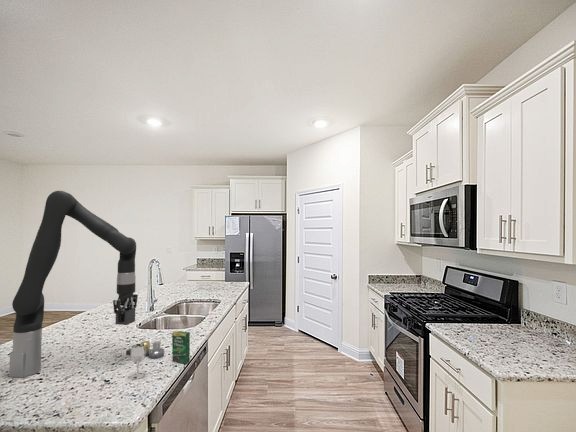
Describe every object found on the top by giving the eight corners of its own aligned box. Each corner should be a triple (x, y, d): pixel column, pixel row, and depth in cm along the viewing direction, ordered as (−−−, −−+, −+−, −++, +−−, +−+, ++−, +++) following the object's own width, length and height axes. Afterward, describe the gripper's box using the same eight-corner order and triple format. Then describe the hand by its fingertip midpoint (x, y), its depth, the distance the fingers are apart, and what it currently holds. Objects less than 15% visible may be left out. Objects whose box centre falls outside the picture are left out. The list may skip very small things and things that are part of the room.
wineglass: (141, 371, 135) (141, 342, 135) (148, 375, 131) (148, 345, 132) (126, 376, 130) (127, 345, 131) (133, 381, 127) (134, 349, 127)
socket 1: (127, 324, 143) (127, 311, 143) (115, 324, 144) (115, 310, 144) (135, 321, 149) (135, 307, 149) (123, 320, 150) (124, 307, 150)
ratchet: (159, 359, 148) (159, 344, 148) (123, 356, 150) (123, 342, 151) (166, 354, 154) (166, 339, 154) (132, 351, 157) (132, 337, 157)
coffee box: (171, 361, 145) (171, 331, 146) (175, 359, 148) (176, 329, 148) (185, 364, 142) (185, 334, 142) (190, 362, 145) (190, 332, 145)
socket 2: (146, 352, 155) (146, 344, 155) (138, 352, 156) (138, 343, 156) (151, 349, 159) (151, 341, 159) (143, 349, 160) (143, 340, 160)
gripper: (123, 285, 139) (122, 325, 139) (143, 280, 153) (142, 316, 153) (107, 284, 140) (106, 324, 140) (128, 279, 155) (128, 315, 154)
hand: (125, 320), depth 146 cm, fingers closed on socket 1, 5 cm apart
